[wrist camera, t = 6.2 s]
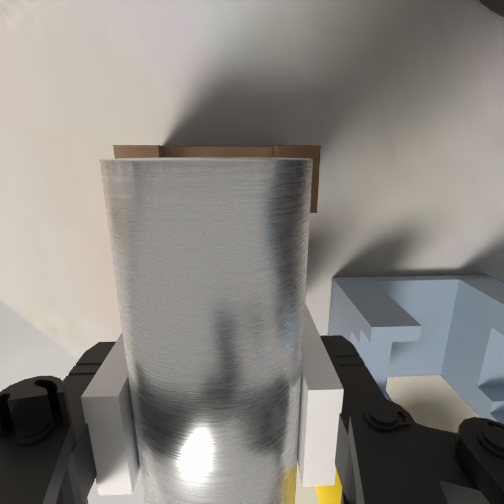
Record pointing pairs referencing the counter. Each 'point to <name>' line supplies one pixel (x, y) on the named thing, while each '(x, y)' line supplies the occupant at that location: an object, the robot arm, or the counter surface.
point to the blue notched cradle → (428, 331)
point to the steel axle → (212, 320)
